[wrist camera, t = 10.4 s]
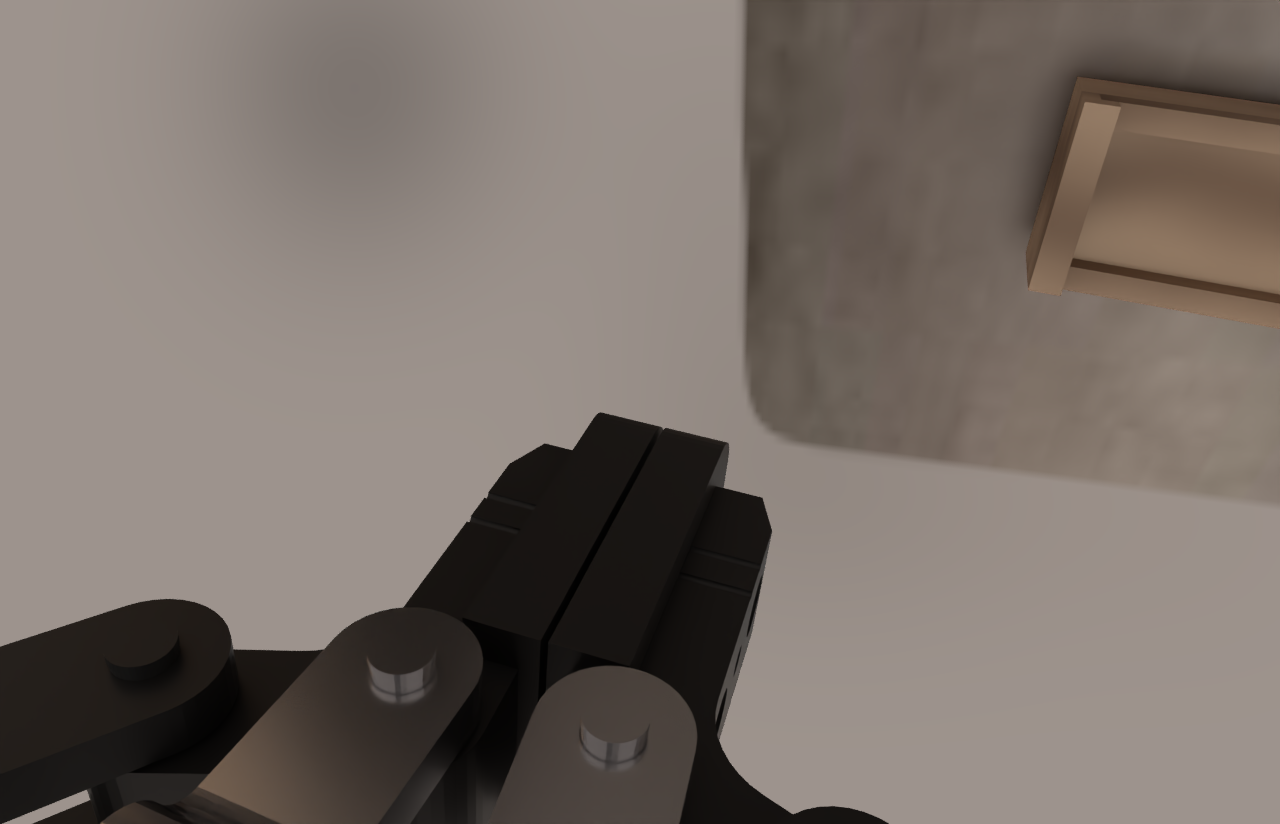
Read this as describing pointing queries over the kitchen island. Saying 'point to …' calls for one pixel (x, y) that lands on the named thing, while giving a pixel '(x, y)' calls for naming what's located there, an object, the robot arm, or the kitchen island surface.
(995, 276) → the kitchen island surface
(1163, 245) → the beam
